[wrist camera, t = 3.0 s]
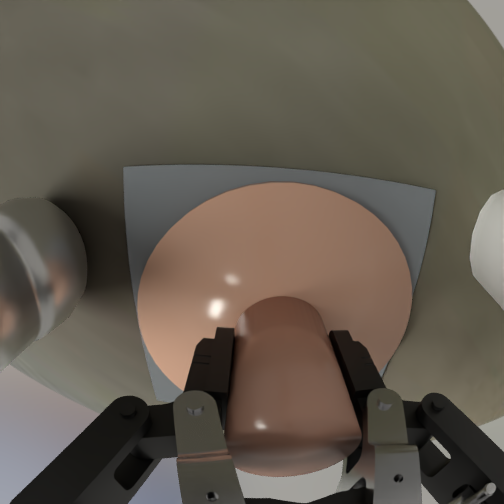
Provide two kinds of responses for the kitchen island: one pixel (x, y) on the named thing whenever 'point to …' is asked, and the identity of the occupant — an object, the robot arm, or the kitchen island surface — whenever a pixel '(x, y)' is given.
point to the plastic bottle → (36, 272)
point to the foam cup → (490, 247)
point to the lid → (278, 313)
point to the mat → (232, 176)
